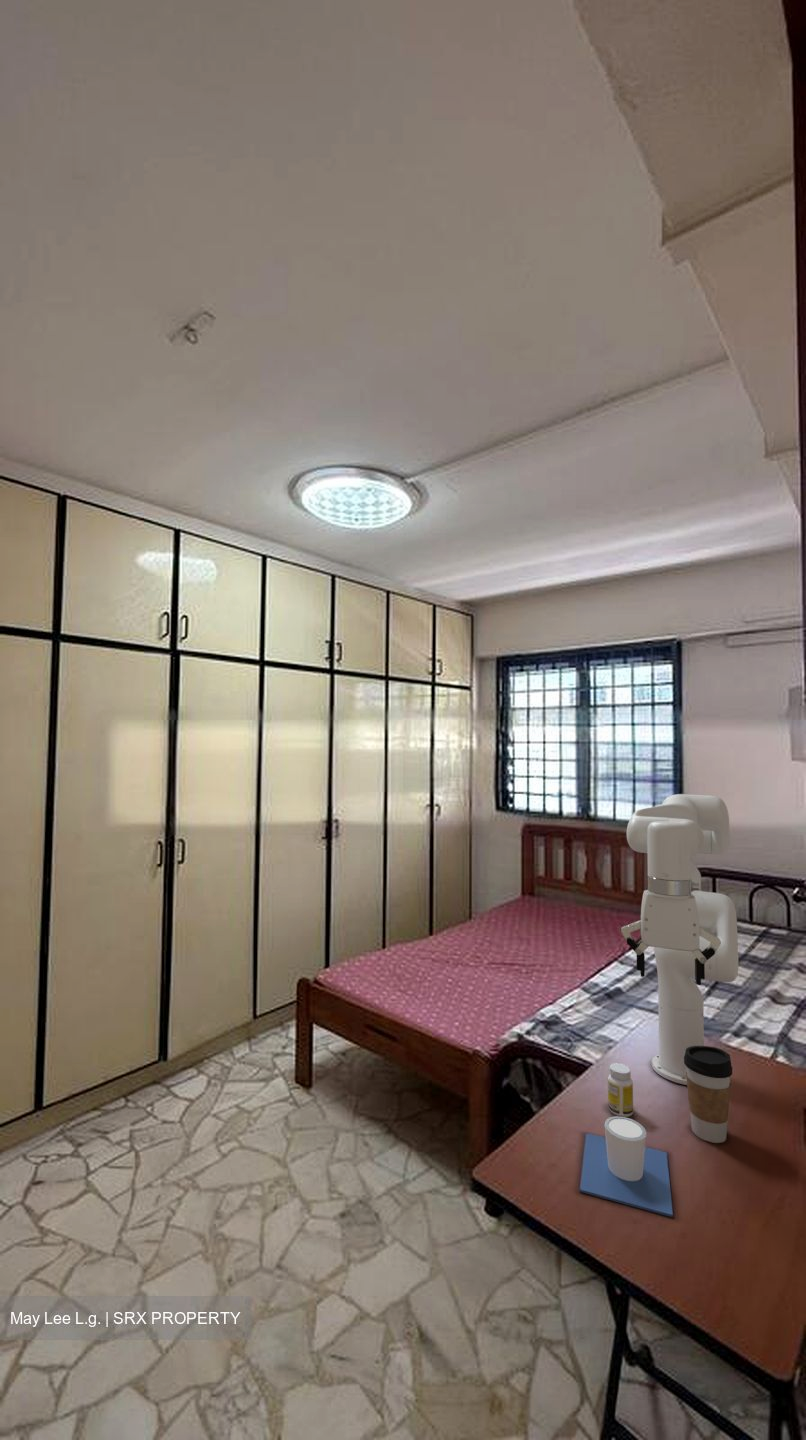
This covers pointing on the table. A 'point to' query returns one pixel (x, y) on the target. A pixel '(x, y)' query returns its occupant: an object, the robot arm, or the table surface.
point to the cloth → (640, 1193)
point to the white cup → (625, 1147)
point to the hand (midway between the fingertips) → (669, 978)
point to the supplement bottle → (620, 1090)
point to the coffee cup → (708, 1091)
